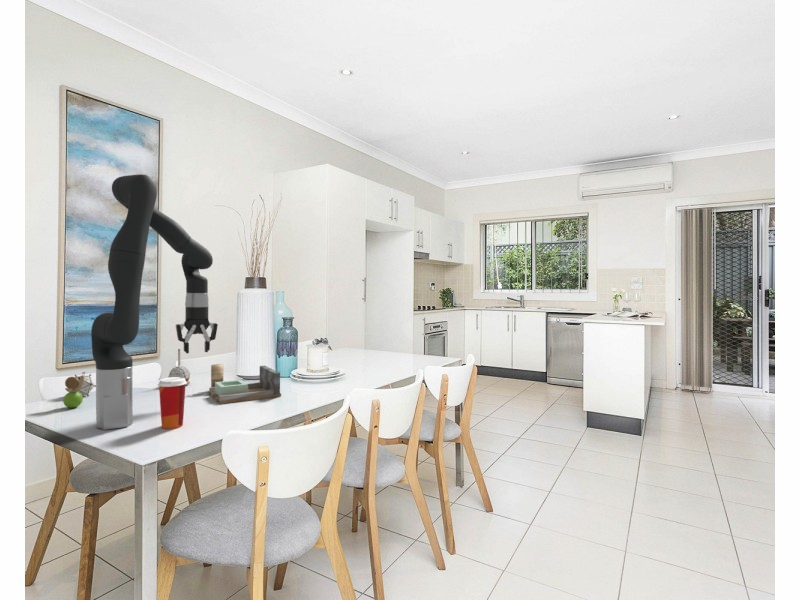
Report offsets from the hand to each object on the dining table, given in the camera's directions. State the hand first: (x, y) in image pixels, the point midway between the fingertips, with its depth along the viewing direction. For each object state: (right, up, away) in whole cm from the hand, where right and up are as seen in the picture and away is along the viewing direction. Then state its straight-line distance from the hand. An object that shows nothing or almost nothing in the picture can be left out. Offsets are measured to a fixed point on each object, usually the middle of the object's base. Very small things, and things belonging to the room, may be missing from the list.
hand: (196, 352), depth 165 cm
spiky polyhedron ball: (-44, -17, +4) cm, 47 cm away
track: (+14, -17, +10) cm, 24 cm away
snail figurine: (-36, -17, -11) cm, 42 cm away
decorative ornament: (-18, -17, +25) cm, 35 cm away
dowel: (+1, -17, +17) cm, 24 cm away
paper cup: (+5, -19, -28) cm, 34 cm away
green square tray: (+10, -16, +7) cm, 20 cm away
